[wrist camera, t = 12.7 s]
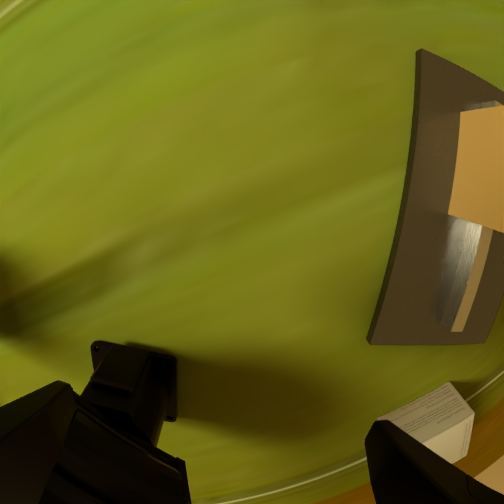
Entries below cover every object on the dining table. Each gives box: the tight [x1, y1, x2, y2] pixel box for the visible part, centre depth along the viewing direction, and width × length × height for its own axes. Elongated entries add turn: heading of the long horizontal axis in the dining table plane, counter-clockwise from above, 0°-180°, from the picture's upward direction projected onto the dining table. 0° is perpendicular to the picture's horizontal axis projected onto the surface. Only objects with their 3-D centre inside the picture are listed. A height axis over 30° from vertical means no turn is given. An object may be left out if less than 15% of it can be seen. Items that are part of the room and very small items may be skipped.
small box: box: [377, 382, 475, 464], centre depth 21 cm, size 8×8×5 cm
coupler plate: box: [366, 48, 504, 345], centre depth 17 cm, size 20×12×2 cm, turn 172°
